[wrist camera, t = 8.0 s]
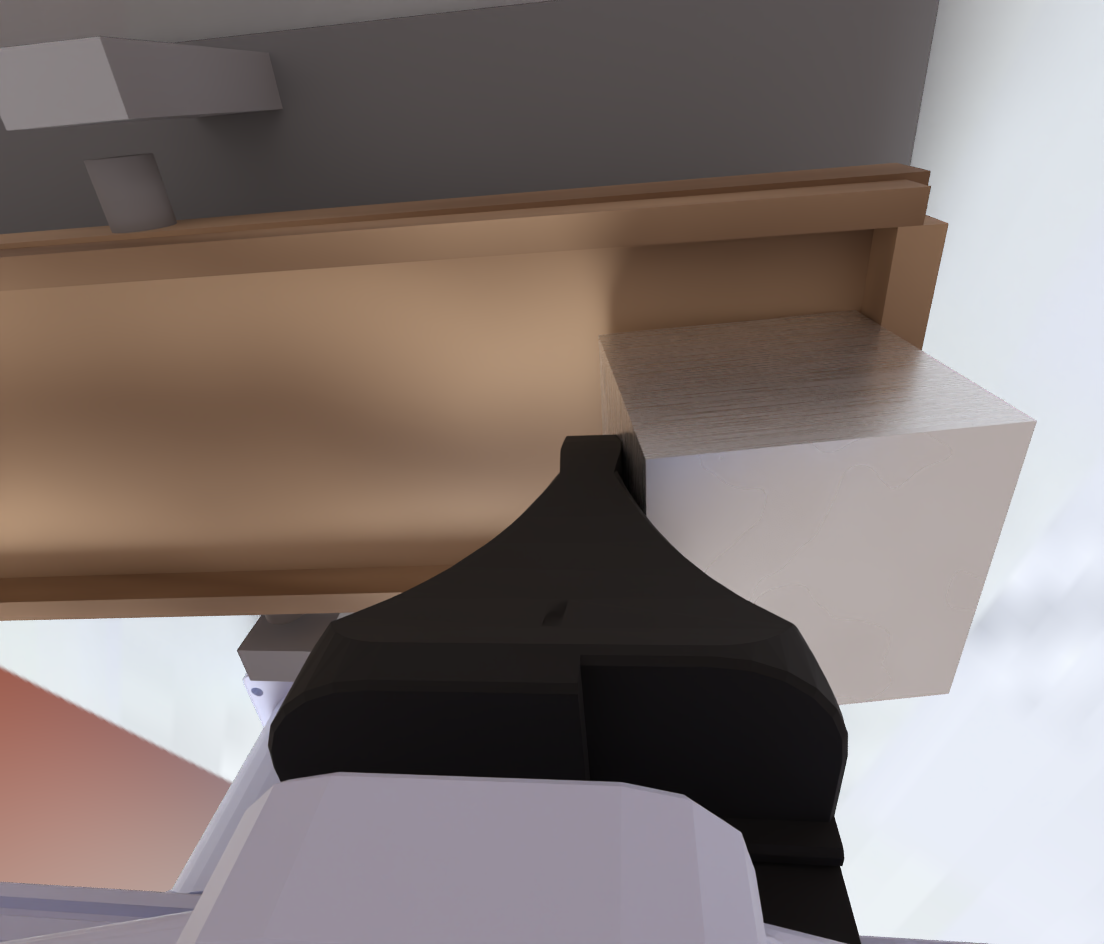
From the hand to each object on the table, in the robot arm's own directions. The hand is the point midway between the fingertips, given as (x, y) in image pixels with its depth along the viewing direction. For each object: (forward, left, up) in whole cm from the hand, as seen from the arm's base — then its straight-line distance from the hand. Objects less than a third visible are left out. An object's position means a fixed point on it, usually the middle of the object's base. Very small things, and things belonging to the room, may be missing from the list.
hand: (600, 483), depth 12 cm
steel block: (0, -2, -3) cm, 4 cm away
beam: (0, +9, -3) cm, 10 cm away
